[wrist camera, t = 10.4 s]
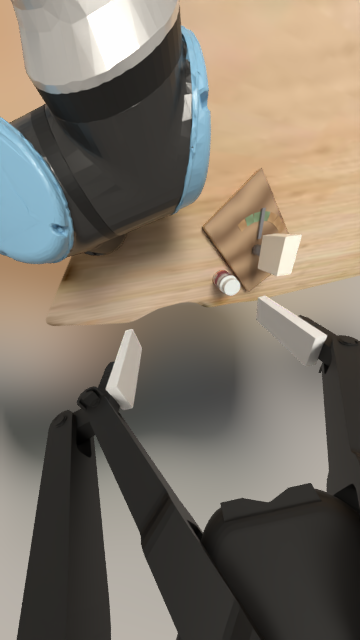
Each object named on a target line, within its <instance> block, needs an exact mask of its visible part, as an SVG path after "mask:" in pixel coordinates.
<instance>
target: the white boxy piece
mask: <svg viewBox="0 0 360 640" xmlns="http://www.w3.org/2000/svg"><path fill="white" fill-rule="evenodd" d="M265 210H266V208H262V209H261V216H260V223H259V230H258V237H257V239H261V236H262V230H263V223H264V217H265ZM301 236H302V235H299V234H269V235H263V238H262V244H261V245H259V244H257V245H255V246H254V247H253V248H252V253H253V254H254V255H257V256H259V263H258V269H260V270H263V271H265V272H268V273H270V274H273V275H275V276H281V275H288V274H291V272H292V268H293V265H294V261H295V258H296V254H297V251H298V247H299V243H300V240H301Z"/></svg>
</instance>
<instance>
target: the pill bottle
mask: <svg viewBox="0 0 360 640" xmlns="http://www.w3.org/2000/svg"><path fill="white" fill-rule="evenodd" d="M213 283H214V284H215V285H216V286H217V287H218V288H219V289H220V291H221V292H223V293H226V294H227V295H235V294H236V293H237V292H238V291H239V289H240V283H239V281H238V280H237V279H236V277H235V276H233V275H231V274H230V273H228V272H227V271H225V270H220V271H218V272H216V273H215V275H214V277H213Z"/></svg>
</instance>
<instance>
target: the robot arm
mask: <svg viewBox="0 0 360 640" xmlns="http://www.w3.org/2000/svg"><path fill="white" fill-rule="evenodd" d="M11 1H12V4H13V7H14V10H15V13H16V17H17V20H18V24H19V29H20V36H21V43H22V50H23V57H24V63H25V69H26V72H27V74H28V76H29V78H30V79H31V81H32V82H33V84H34V86H35V87H36V89H37V90H38V92H39V93H40V95H41V96H42V98H43V99H44V101H45V103H46V104H44V105H43V106H41V107H39V108H37V109H35V110H33V111H31V112H29V113H27V114H26V115H24V116H22V117H20V118H18V119H16V120H14V121H12V122H10V123H8V122H7V121H5V120H4V119H3V118H1V117H0V254H2V255H5V256H8V257H11V258H13V259H14V260H16V261H20V262H24V263H30V264H44V263H57V262H60V261H62V260H63V259H65V258H66V257H70V256H73V255H76V254H80V253H85V254H89V255H95V256H100V255H106V254H109V253H111V252H113V251H115V250H117V249H118V248H119V247H120V246H121V245H122V243H123V242H124V240H125V237H126V234H127V232H130V231H132V230H134V229H137V228H139V227H142V226H144V225H146V224H149V223H151V222H154V221H156V220H158V219H161V218H163V217H165V216H168V215H173V214H174V213H177V212H178V211H179V210H180V209H182V208H184V207H186V206H188V205H190V204H192V203H193V202H194V201H195V200H196V199H197V198H198V197H199V195H200V194H201V192H202V189H203V187H204V184H205V180H206V176H207V171H208V164H209V156H210V140H211V117H210V111H209V110H208V108H207V99H208V91H209V88H208V80H207V72H206V66H205V61H204V57H203V53H202V50H201V47H200V44H199V42H198V40H197V38H196V37H195V35H194V33H193V32H192V31H191V30H189V29H186V28H185V27H184V26H181V19H180V6H179V0H11ZM256 320H257V321H258V322H259V323H260V324H261V325H262V326H264V328H266V330H268V331H269V332H270V333H271V334H272V335H273V336H274V337H275V338H276V339H277V340H278V341H279V342H280V343H281V344H282V345H283V346H284V347H285V348H286V349H287V350H289V351H290V352H291V353H292V354H293V355H294V356H295V357H296V358H297V359H298V360H299V361H300V362H301V363H302V364H303V365H304V366H305V367H306V366H310V365H315V364H316V363H317V360H318V359H320V360H321V361H322V362H323V363H322V365H321V367H320V370H319V373H321V371H322V380H323V394H324V407H325V420H326V435H327V448H328V462H329V474H328V478H327V492H324V491H321V490H318V489H314V488H313V486H312V484H311V483H308V484H304V485H300V486H295V487H290V488H288V489H286V490H285V491H284V492H282V493H281V494H280V495H279V496H277V497H276V498H275V499H274V500H272V501H271V502H262V501H256V500H250V499H244V498H241V499H236V500H231V501H227V502H222V503H221V508H220V509H218V510H217V511H216V512H215V513H214V514H213V515H212V517H211V518H210V520H209V521H208V523H207V525H206V527H205V530H204V532H202V531H201V529H200V528H199V526H198V525H197V524H196V522H195V520H194V519H193V518H192V516H191V515H190V513H189V512H188V511H187V509H186V508H185V507H184V506H183V504H182V503H181V502H180V501H179V499H178V497H177V496H176V494H175V493H174V492H173V490H172V489H171V487H170V486H169V484H168V483H167V481H166V480H165V478H164V477H163V475H162V474H161V472H160V471H159V470H158V468H157V467H156V465H155V464H154V462H153V461H152V460H151V458H150V457H149V455H148V454H147V452H146V451H145V449H144V448H143V446H142V445H141V443H140V442H139V441H138V439H137V438H136V436H135V435H134V433H133V432H132V431H131V429H130V427H129V426H128V425H127V423H126V422H125V420H124V419H123V418H122V416H121V414H120V413H119V408H120V407H121V408H122V409H123V410H126V409H130V408H133V404H134V398H135V391H136V384H137V377H138V371H139V365H140V358H141V352H142V347H141V345H140V343H139V341H138V339H137V337H136V335H135V333H134V330H133V329H130V330H126V331H125V334H124V336H123V340H122V342H121V346H120V348H119V351H118V354H117V357H116V360H115V362H110V363H109V364H108V366H107V367H106V369H105V371H104V375H103V377H102V379H101V382H100V384H99V387H98V388H97V387H90V388H88V389H86V390H85V391H84V392H83V393H81V395H80V396H79V398H78V400H77V405H79V406H80V407H81V409H80V410H78V411H76V412H74V413H72V412H71V411H69V410H67V411H64V412H62V413H60V414H59V415H58V416H57V417H56V418H55V419H54V420H53V421H52V423H51V424H50V427H49V432H48V438H47V445H46V452H45V458H44V465H43V471H42V478H41V485H40V490H39V497H38V504H37V510H36V517H35V523H34V530H33V536H32V543H31V550H30V556H29V563H28V569H27V576H26V583H25V589H24V595H23V602H22V608H21V615H20V621H19V628H18V635H17V640H111V623H110V606H109V593H108V583H107V572H106V561H105V551H104V541H103V530H102V519H101V509H100V498H99V488H98V477H97V466H96V456H95V445H94V435H96V437H97V439H98V441H99V444H100V446H101V448H102V450H103V452H104V455H105V456H106V459H107V461H108V463H109V466H110V468H111V470H112V472H113V474H114V476H115V479H116V481H117V483H118V485H119V488H120V490H121V492H122V494H123V496H124V499H125V501H126V503H127V505H128V507H129V510H130V512H131V514H132V516H133V518H134V520H135V523H136V525H137V527H138V529H139V532H140V535H141V545H142V549H143V552H144V555H145V558H146V560H147V562H148V565H149V567H150V569H151V572H152V574H153V576H154V578H155V581H156V583H157V585H158V588H159V590H160V592H161V595H162V597H163V599H164V602H165V604H166V606H167V608H168V611H169V613H170V615H171V617H172V620H173V622H174V625H175V627H176V629H177V631H178V635H177V639H176V640H360V341H358V340H357V339H355V338H352V337H349V336H342V335H339V336H337V335H335V334H333V333H332V332H330V331H329V330H327V329H326V328H324V327H322V326H321V325H319V324H317V323H316V322H314V321H312V320H311V319H309V318H307V317H304V316H301V315H300V316H296V315H295V314H293V313H292V312H290V311H288V310H287V309H285V308H284V307H282V306H281V305H279V304H277V303H276V302H274V301H273V300H271V299H270V298H268V297H267V296H262V297H258V302H257V318H256Z"/></svg>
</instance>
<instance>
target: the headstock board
mask: <svg viewBox="0 0 360 640" xmlns="http://www.w3.org/2000/svg"><path fill="white" fill-rule="evenodd" d="M262 208H266V210H265V217H264V223H263V230H262V236H261V239H257V237H258V230H259V223H260V216H261V209H262ZM202 228H203V229H204V231H205V232H206V234H207V235H208V236H209V238H210V239H211V241H212V242H213V244H214V245H215V247H216V248H217V249H218V251H219V252H220V254H221V255H222V257H223V258H224V259H225V261H226V262H227V264H228V265H229V267H230V268H231V270H232V271H233V272H234V274H235V275H236V277H237V278H238V280H239V281H240V282H241V284H242V285H243V287H244V288H245V290H247V291H248V292H249V291H250V290H252V289H253V288H254V287H255V286H257V285H258V284H259V283H261V282H262V281H263V280H264V279H266V278H267V277H268V276H270V275H271V274H270V273H268V272H265V271H263V270H260V269H258V263H259V256H257V255H254V254H253V253H252V248H253V247H254V246H255V245H257V244H259V245H261V244H262V238H263V235H269V234H289V233H288V231H287V228H286V226H285V223H284V221H283V218H282V216H281V213H280V211H279V208H278V206H277V203H276V201H275V198H274V196H273V194H272V191H271V189H270V186H269V184H268V181H267V179H266V176H265V174H264V171H263V169H262V168H261V169H259V170H258V171H256V172H255V173H254V174H253V175H252V176H251V177H250V178H249V179H248V180H247V181H246V182H245V183H244V185H243V186H242V187H241V188H240V189H239V190H238V191H237V192H236V193H235V194H234V195H233V196H232V197H231V198H230V199H229V200H228V201H227V202H226V203H225V204H224V205H223V206H222V207H221V208H220V209H219V210H218V211H217V212H216V213H215V214H214V215H213V216H212V217H211V218H210V219H209V220H208V221H207V222H206V223H205V224H204V225H203V226H202ZM296 255H297V254H296Z"/></svg>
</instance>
